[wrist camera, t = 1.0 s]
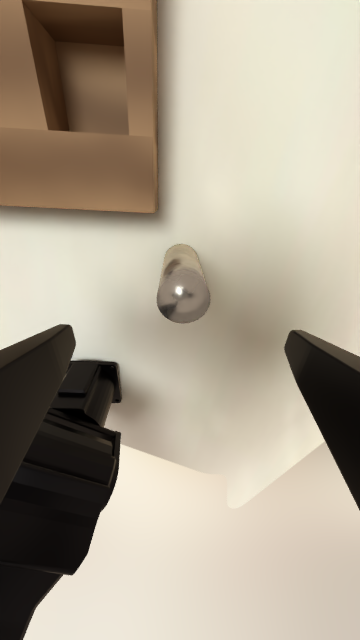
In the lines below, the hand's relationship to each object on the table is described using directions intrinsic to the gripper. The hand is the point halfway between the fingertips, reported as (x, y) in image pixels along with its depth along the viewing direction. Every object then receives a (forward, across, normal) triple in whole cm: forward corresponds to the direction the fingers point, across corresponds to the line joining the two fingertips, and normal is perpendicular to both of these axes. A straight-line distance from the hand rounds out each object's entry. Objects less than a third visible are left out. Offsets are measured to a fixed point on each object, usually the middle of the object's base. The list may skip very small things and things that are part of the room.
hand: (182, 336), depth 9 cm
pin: (+12, 0, 0) cm, 12 cm away
